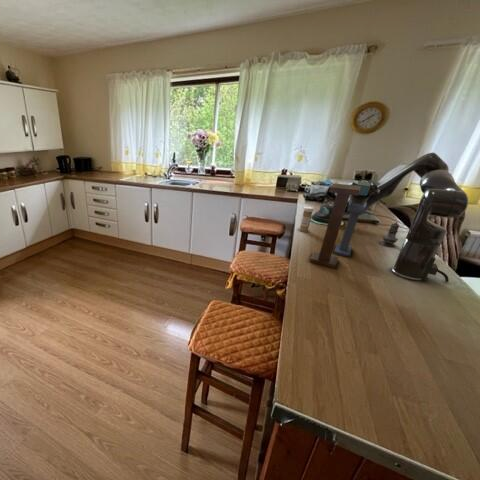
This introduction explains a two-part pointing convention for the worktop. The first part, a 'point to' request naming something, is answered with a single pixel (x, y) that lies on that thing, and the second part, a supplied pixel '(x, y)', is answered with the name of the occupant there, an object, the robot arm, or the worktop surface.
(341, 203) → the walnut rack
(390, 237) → the dark grey figurine
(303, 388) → the worktop surface
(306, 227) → the sprinkles bottle
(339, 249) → the blue grey stand
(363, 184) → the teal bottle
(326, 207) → the dark green shoe
